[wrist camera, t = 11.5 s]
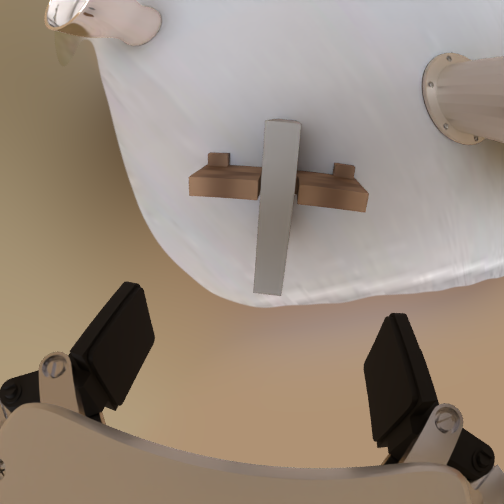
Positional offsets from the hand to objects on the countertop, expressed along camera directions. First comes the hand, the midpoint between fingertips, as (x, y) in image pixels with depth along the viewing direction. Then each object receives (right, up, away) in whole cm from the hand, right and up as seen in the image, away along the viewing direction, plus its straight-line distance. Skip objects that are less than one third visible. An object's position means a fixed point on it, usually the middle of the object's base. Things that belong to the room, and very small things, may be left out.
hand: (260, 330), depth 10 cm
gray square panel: (+3, +12, +23) cm, 26 cm away
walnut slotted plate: (+3, +12, +23) cm, 26 cm away
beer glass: (-15, +32, +14) cm, 38 cm away
